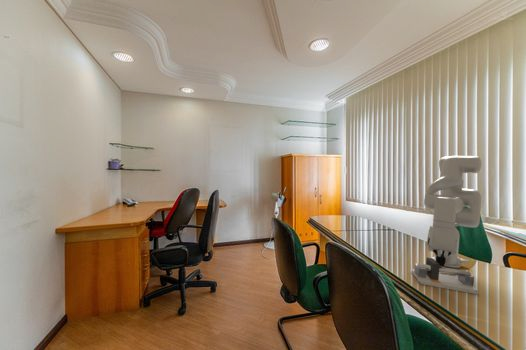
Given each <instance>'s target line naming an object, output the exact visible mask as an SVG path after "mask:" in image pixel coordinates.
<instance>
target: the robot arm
mask: <svg viewBox="0 0 526 350" xmlns="http://www.w3.org/2000/svg"><path fill="white" fill-rule="evenodd" d="M438 161H439V162H438V166H439V172H440V175H439V178H438V179H436V180H435V181H433V182H432V183H430V184H429V186H427V188H426V191H425V194H424V199H423V202H424V203H423V204H424V206H425V208H426V209H428V210H432V211H433V216H432V217H433V218H432V219H433V220H432V225H430V226H429V229H428V233H427V237H426V245H427V247H426V250H428V251H429V252H433V253H434V256H432V257H431V258H433V259H434V260H435V261H436V262H438V263H439V264H440V267H444V268H451V269H460V268H461V267H462V264H466V265H469V264H470V261H469V260H468V259H464V258H461V257H459V247H460V231H459V230H458V229H457V227H459V226H460V227H461V226H462V227H466V228H477V227H479V225H480V224H481V223H480V222H481V209H482V195H481V193H480V191H479V190H476V189H471V188H463V187H464V180H463V174H478V173H479V172H480V171H481V168H482V160H481V157H479V156H478V155H477V156H476V155H475V156H474V155H466V156H465V155H451V156H450V155H449V156H448V155H447V156H443V157H441V158H439V160H438ZM439 191H440V192H441V191H442V193H441V194H436V193H437V192H439ZM466 207H467V208H466Z"/></svg>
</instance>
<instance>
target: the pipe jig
mask: <svg viewBox="0 0 526 350" xmlns="http://www.w3.org/2000/svg"><path fill="white" fill-rule="evenodd" d="M427 270H428V271H431V265H426V263H425V264H424V263H419V262H417V263H414V268H412V269H411V273H412V274H413V276H414V277H415V278H416V279H417V281H418V282H419V283H420V285H425V286H432V287H435V288H441V289H447V290H453V291H458V292H463V293H469V294H475V295H479V289H477V288H476V287H475V286H474V281H475V276H473V275H472V274H471V272H470V271H468V270H462V269H458V268H451V267H445V266H444V267H443V266H440V267H439V279H438V280H435V279H431V278H430V276H429V275H428V274H427Z"/></svg>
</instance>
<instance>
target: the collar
mask: <svg viewBox="0 0 526 350" xmlns="http://www.w3.org/2000/svg"><path fill="white" fill-rule="evenodd" d="M425 265H431V271H428V270H427V274H428V275H429V276H430V278H431V279H435V280H438V279H439V274H440V272H439V267H441V266H440V264H439V263H438V262H436V261H435V260H434V259H433V258H432V257H426V261H425Z"/></svg>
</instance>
